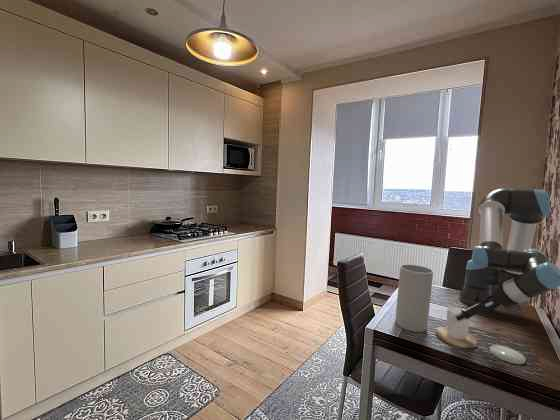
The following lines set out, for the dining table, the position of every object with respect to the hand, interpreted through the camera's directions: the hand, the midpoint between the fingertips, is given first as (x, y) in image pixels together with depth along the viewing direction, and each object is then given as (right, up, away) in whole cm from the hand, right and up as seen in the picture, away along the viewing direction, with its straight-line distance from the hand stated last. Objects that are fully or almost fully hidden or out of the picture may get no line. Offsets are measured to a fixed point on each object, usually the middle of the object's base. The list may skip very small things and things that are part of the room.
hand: (458, 317), depth 112 cm
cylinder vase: (-14, -7, +10) cm, 19 cm away
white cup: (0, -8, +1) cm, 8 cm away
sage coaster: (+12, -10, -9) cm, 18 cm away
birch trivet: (0, -9, +1) cm, 9 cm away
